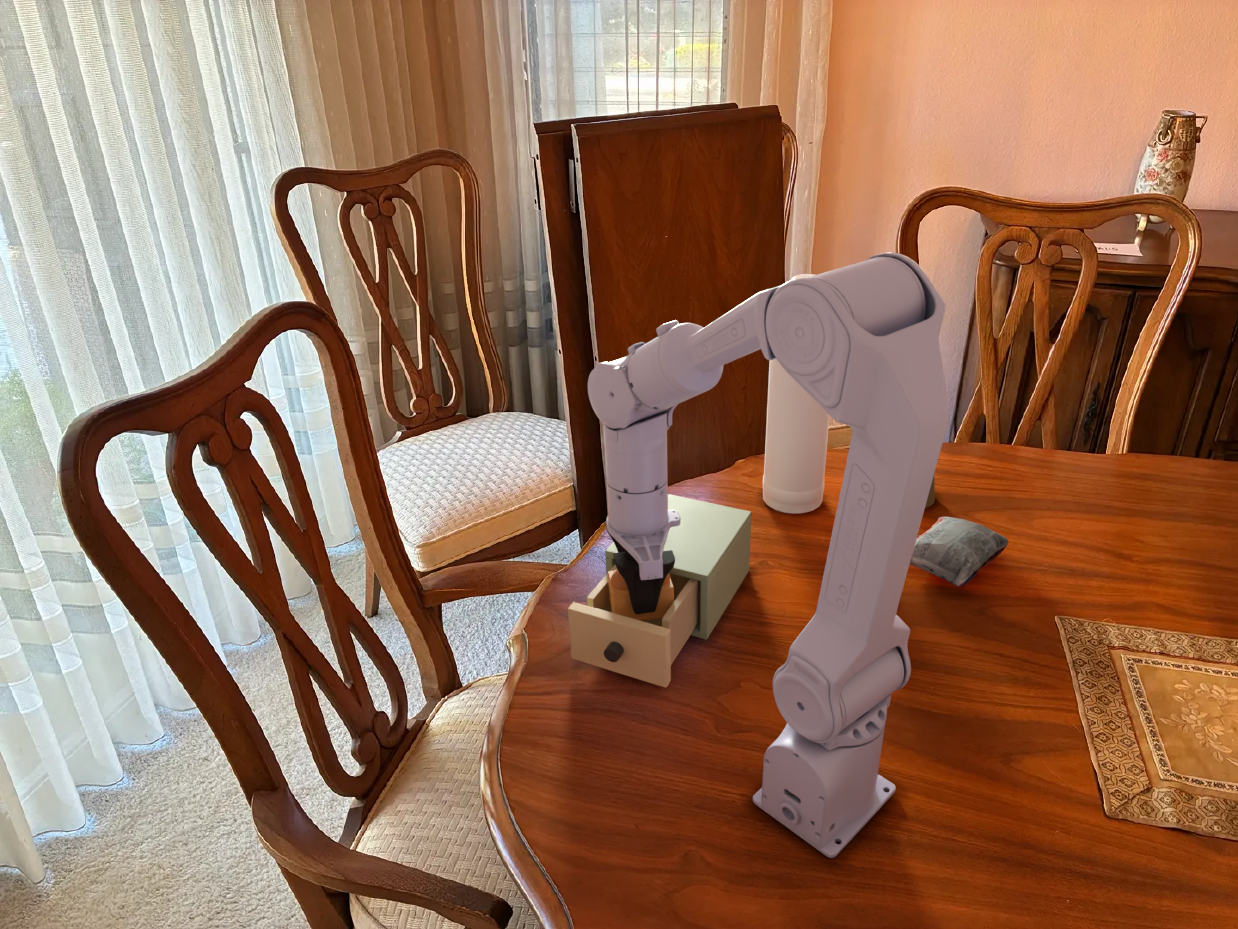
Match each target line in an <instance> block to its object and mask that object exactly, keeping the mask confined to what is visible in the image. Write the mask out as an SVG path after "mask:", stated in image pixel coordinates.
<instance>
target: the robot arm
mask: <svg viewBox="0 0 1238 929" xmlns="http://www.w3.org/2000/svg"><path fill="white" fill-rule="evenodd" d="M814 275H815V276H811V277H808V278H800V279H794V280H792V279H791V280H789V281H786V282H785V283H783V284H781V285H778V286H774V287H772V288H767V289H764V290H761V291H759V292H757V293H755V294H754V295H752V296H751V297H749V298H747V299H746V300H744V301H743V302H741V303H740V304H738V305H736V306H735V307H734V308H732V309H731V310H729V311H728V312H726V313H724V314H723V315H721V316H720V317H717V319H715V320H713V321H712V322H711V323H709V324H707V325H705V327H704V326H702V325H699V324H697V323H692V322H683V323H679V321H678V320H676V319H675V320H672V321H669V322H666V323H663V324H661V325H659V326H658V327H657V328H656V329H655V331H656V334H657V336H656V337H655V338H653V339H651V340H649V341H648V342H646V343H645V342H644V341H640V342H637V343H634V344H631V346H628V348H627V352H628V354H627V355H626V356H624V357H621V358H618V359H615V360H612V361H609V362H608V361H603V362H602V361H601V362H598V363H596V365H595V367H594V368H593V369H592V370H591V371H590V373H589V376H588V379H587V394H588V400H589V402H590V405H591V408H592V410H593V412H594V414H595V415H596V417H597V418H598V420H599V421H600V422H601V423H602V425H603V426H602V427H603V443H604V445H603V446H604V463H605V480H606V483H605V484H606V500H607V501H606V502H607V503H606V504H607V516H606V520H605V522H604V525H605V528H606V533H607V534H608V535H609V536H610V538H611V540H612V543H613V542H614V544H615V546H616V548H617V551H618V553H613V557H614V561H615V565H616V568H617V570H618V572H619V573H620V575H621V576H622V577H623V579H624V580H625V582H626V585H627V587H628V592H629V596H630V601H631V604H632V608H633V611H634V613H635V614H643V613H651V612H655V610H656V608H657V604H658V601H659V597H660V592H661V589H662V586H663V583H664V581H665V579H666V577H667V575H668V574H669V572H670V571H671V570H672V568H673V567H674V564H675V557H674V554H673V551H672V550H669V551H663V550H664V546H665V543H666V539H667V536H668V532H669V529H670V528H671V527H675V526H679V525H680V523H681V520H680V516H679V513H678V512H677V511H676V510H668V494H669V488H668V487H669V486H668V485H669V484H668V481H669V480H668V431H669V429H671V426H673V413H674V411H675V409H676V408H677V407H678V405H679V404H681V403H683V402H686V401H688V400H690V399H693V398H694V397H697V396H699V395H702V394H704V393H706V392H708V391H710V390H712V389H713V388H715V387H716V386H717V384H718V383H719V382H720V380H721V378H722V375H723V372H724V366H725V365H727V364H729V363H731V362H734V361H736V360H738V359H741V358H743V357H746V356H748V355H750V354H753V353H755V352H758V351H759V350H761V354H762V355H763V357H764V359H765V360H767V361H770V360H773V359H777V360H778V362H779V363H780V364H781V366H782V367H783V368H784V369H785V370H786V371H787V372H788V374H789V375H790V376H791V377H792V378H793V379H794V380H795V381H796V382H797V383H798V384H799V385H800V386H801V387H802V388H803V389H804V390H805V391H806V392H807V393H808V394H809V395H810V396H811V397H812V398H813V399H814V400H815V401H816V402H817V403H818V404H819V405H820V406H821V407H822V408H823V409H824V410H825V411H826V412H827V413H828V414H829V415H830V417H831V418H832V419H833V420H834V421H835V422H836V423H837V424H838V423H839V424H843V425H846V426H848V427H849V428H850V430H851V438H850V443H849V448H848V453H847V459H846V463H845V467H844V473H843V478H842V483H841V488H840V491H839V492H840V493H839V497H838V503H837V508H836V512H835V517H834V522H833V526H832V532H831V537H830V542H829V546H828V551H827V557H826V562H825V564H824V565H825V566H824V570H823V576H822V581H821V585H820V589H819V590H820V591H819V595H818V599H817V604H816V610H815V613H814V615H813V616H812V618H810V620H809V622H808V623H807V624H806V625H805V627H804V628H803V629H802V631H800V633H799V634H798V635H797V637H796V638H795V640H794V641H793V642H792V643H791V645H790V647H789V649H788V655H787V658H786V661H785V663H784V664H781V666H780V667H778V668H777V670H776V671H775V672H774V674H773V677H772V692H773V697H774V701H775V704H776V707H777V709H778V711H779V713H780V715H781V716H782V718H783V719H784V720H785V723H786V724H785V726H784V728H783V730H782V731H781V733H780V735H779V736H778V737H777V738H776V739H775V740H774V741H773V742H772V743H771V744H770V745H769V746H768V747H767V749H766V751H765V752H764V755H763V766H762V780H761V782H762V783H761V788H760V789H758V790H757V791H756V792H755V793H754V794H753V795H752V803H753V804H754V805H756V806H757V807H758V808H759V809H761V810H762V811H763V812H765V813H767V814H768V815H769V816H771V818H773V819H774V820H776V821H777V822H779V823H780V824H781V825H783V826H784V827H786V828H787V829H788V830H789V831H791V832H792V833H794V834H795V835H797V836H798V837H799V838H800V839H802V840H804V841H805V842H806V843H807V844H809V845H810V846H812V848H815V849H816V850H817V851H819V852H820V853H821V854H823V855H824V856H826V857H827V858H830V859H834V858H836V857H837V856H838V855H839V854H840V853H841V852H842V851H843V849H845V847H846V846H847V845H848V844H849V843H850V842H851V841H852V840H853V839H854V837H856V835H857V834H858V833H860V831H861V830H862V829H863V828H864V827H865V825H866V824H867V823H869V821H870V820H871V819H872V818H873V817H874V816H875V815H876V814H877V813H878V812H879V811H880V810H881V809H882V807H883V806H884V805H885V804H886V803H887V802H888V801H889V799H891V798H892V796H893V795H895V793H896V789H897V787H896V785H895V784H894V783H893V782H891V781H889V779H887V778H885V777H883V776H882V775H880V774H879V770H880V769H879V768H880V763H881V756H882V748H883V742H884V734H885V729H886V723H887V722H886V721H887V716H888V715H887V714H888V708H889V707H890V706H891V700H892V694H893V693H894V692H897V691H900V690H902V688H904V687H905V686H907V684H908V682H909V680H910V677H911V672H912V664H911V658H910V655H909V649H908V646H909V644H908V643H909V638H910V634H911V629H910V627H909V626H908V625H907V624H906V623H905V622H904V620H902V618H901V617H900V616H898V615H897V611H898V608H899V604H900V601H901V597H902V594H903V590H904V587H905V584H906V579H907V575H908V571H909V567H910V561H911V557H912V553H913V550H914V546H915V542H916V539H917V538H918V534H919V531H920V527H921V524H922V521H923V516H924V512H925V509H926V508H925V506H926V502H927V498H928V495H929V491H930V487H931V484H932V480H933V476H934V477H935V473H936V468H937V466H938V461H939V458H940V454H941V451H942V447H943V443H944V439H945V435H946V432H947V429H948V426H949V418H950V404H949V397H948V390H947V384H946V379H945V378H946V377H945V371H944V366H943V359H942V352H941V346H940V339H939V336H940V333H941V329H942V325H943V321H944V317H945V313H946V308H947V303H946V301H945V300H944V299H943V297H942V295H940V293H939V291H938V290H937V288H936V287H935V285H934V284H933V282H932V281H931V280H930V278H929V277H928V275H927V273H926V272H925V270H923V268H922V267H921V266H920V265H919V264H918V263H917V262H916V261H915V260H913V259H912V258H910V257H909V256H907V255H904V254H902V253H898V252H889V251H888V252H880V253H878V254H875V255H872V256H870V257H869V258H867V259H865V260H863V261H859V262H856V263H853V264H849V265H846V266H842V267H839V268H834V269H832V270H828V271H825V272H822V273H817V274H814ZM838 843H839V844H838Z"/></svg>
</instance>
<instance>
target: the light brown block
mask: <svg viewBox="0 0 1238 929" xmlns="http://www.w3.org/2000/svg"><path fill="white" fill-rule="evenodd" d="M608 587H609V601H610V606H611V610H612V613H615V614H618V615H622V616H625V617H629V618H632V619H636V620H639V621H642V620H650V619H658V618H663V616H664V615H665V614H666V612H667V611H668V609H669V608H670V607H671V605H672V604H673V602H674V587H673V584H672V581H671V578H670V575H669V574H668V575H667V577H666V579H665V581H664V583H663V586H662V589H661V592H660V597H659V601H658V604H657V608H656V610H655V612H651V613H643V614H635V613H634V611H633V608H632V604H631V601H630V596H629V592H628V587H627V585H626V582H625V580H624V579H623V577H622V576H621V575H620V573H619V572H618V570H616V571H608Z"/></svg>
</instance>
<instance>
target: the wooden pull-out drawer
mask: <svg viewBox="0 0 1238 929" xmlns="http://www.w3.org/2000/svg"><path fill="white" fill-rule="evenodd" d="M616 570H617V568H616V565H614V566H613V567H612V568H611V570H610V571H616ZM669 575H670V578H671V581H672V584H673V587H674V602H673V604H672V605H671V607H670V608H669V609H668V611H667V612H666V614H665V615H664V616H663V618H658V619H650V620H642V621H639V620H636V619H632V618H629V617H625V616H622V615H618V614H615V613H612V610H611V606H610V601H609V587H608V573H607V574H606V573H605V575H604V576H603V577H602V578H601V580H600V581H599V583H597V584H596V585H595V587H594V588H593V589H592V591H591V592H590V593H588V595H587V596H586V604H583V603H579V602H576V601H572V603H571V604H570V605H569V607H567V616H568V628H569V630H568V631H569V640H570V642H569V643H570V654H571V659H572V660H575V661H579V662H582V663H585V664H588V665H592V666H594V667H597V668H601V669H604V670H607V671H611V672H613V673H617V674H620V675H623V676H625V677H626V676H627V677H629V678H633V679H636V680H639V681H642V682H646V683H649V684H652V685H654V686H658V687H662V688H664V689H665V688H666V689H667V687H668V686H669V684H670V683H671V682H672V664H673V663H674V662H675V660H676V658H677V657H678V655H679V654H680V653H681V650H682V649H683V648H684V646H685V644H686V642H687V641H688V640H689V639H690V636H692V635H691V633H692V632H693V630H694V629H695V627H696V626H697V624H698V622H699V621H700V594H701V581H699V580H695V579H691V578H687V577H683V576H679V575H676V574H672V573H669Z"/></svg>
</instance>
